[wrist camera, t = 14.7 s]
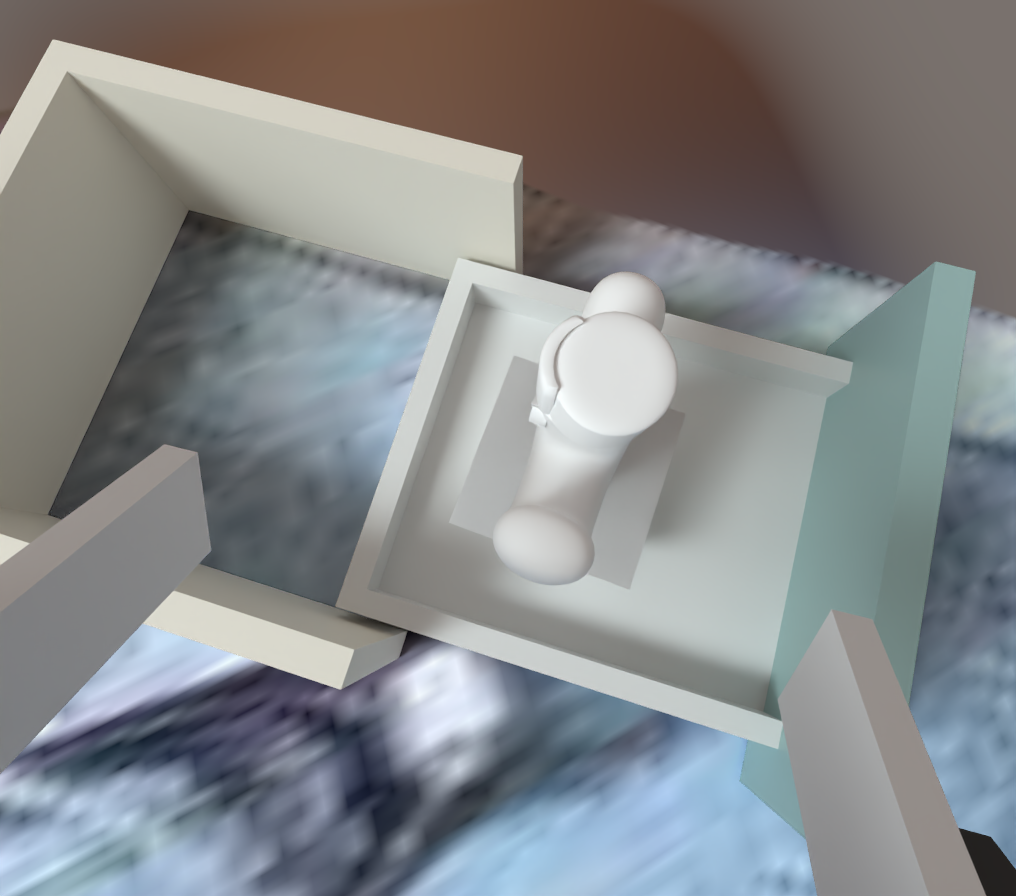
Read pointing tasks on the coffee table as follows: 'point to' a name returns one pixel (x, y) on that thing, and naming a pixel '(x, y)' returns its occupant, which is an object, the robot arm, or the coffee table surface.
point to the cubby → (144, 249)
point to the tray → (689, 509)
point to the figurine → (580, 443)
